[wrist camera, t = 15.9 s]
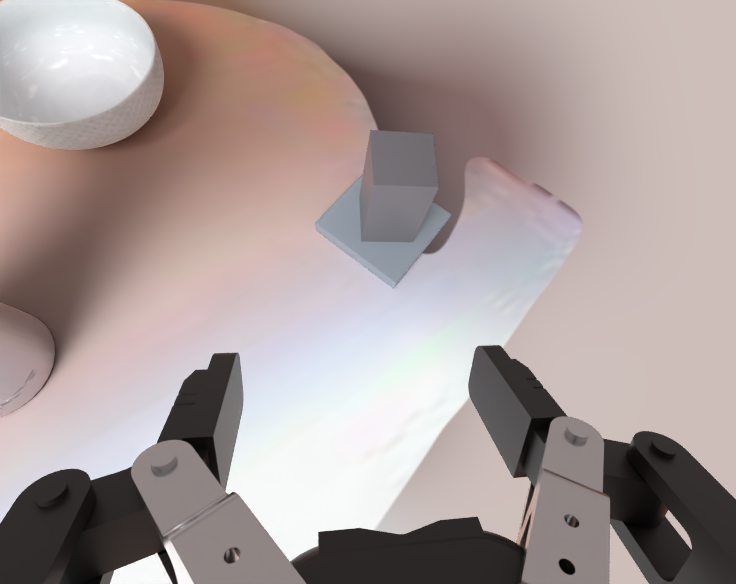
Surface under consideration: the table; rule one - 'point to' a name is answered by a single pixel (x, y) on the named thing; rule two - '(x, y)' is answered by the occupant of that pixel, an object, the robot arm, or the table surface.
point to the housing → (397, 185)
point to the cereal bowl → (76, 72)
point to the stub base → (377, 256)
